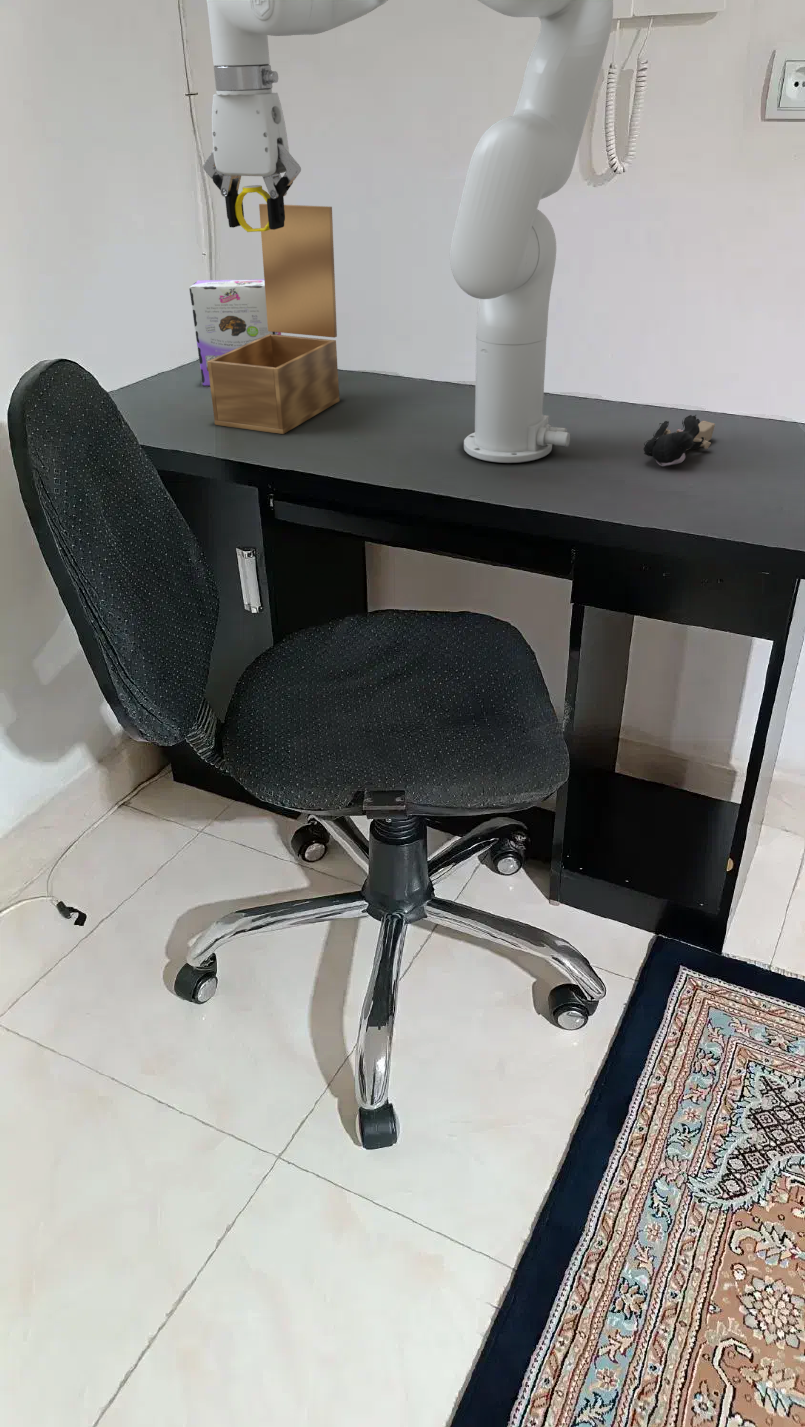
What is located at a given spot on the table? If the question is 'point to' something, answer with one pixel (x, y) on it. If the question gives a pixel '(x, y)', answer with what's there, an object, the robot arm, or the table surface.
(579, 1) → the robot arm
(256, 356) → the chest
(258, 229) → the watch
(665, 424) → the toy figure
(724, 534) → the table surface
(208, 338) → the candy box
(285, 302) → the chest lid
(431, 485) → the table surface
